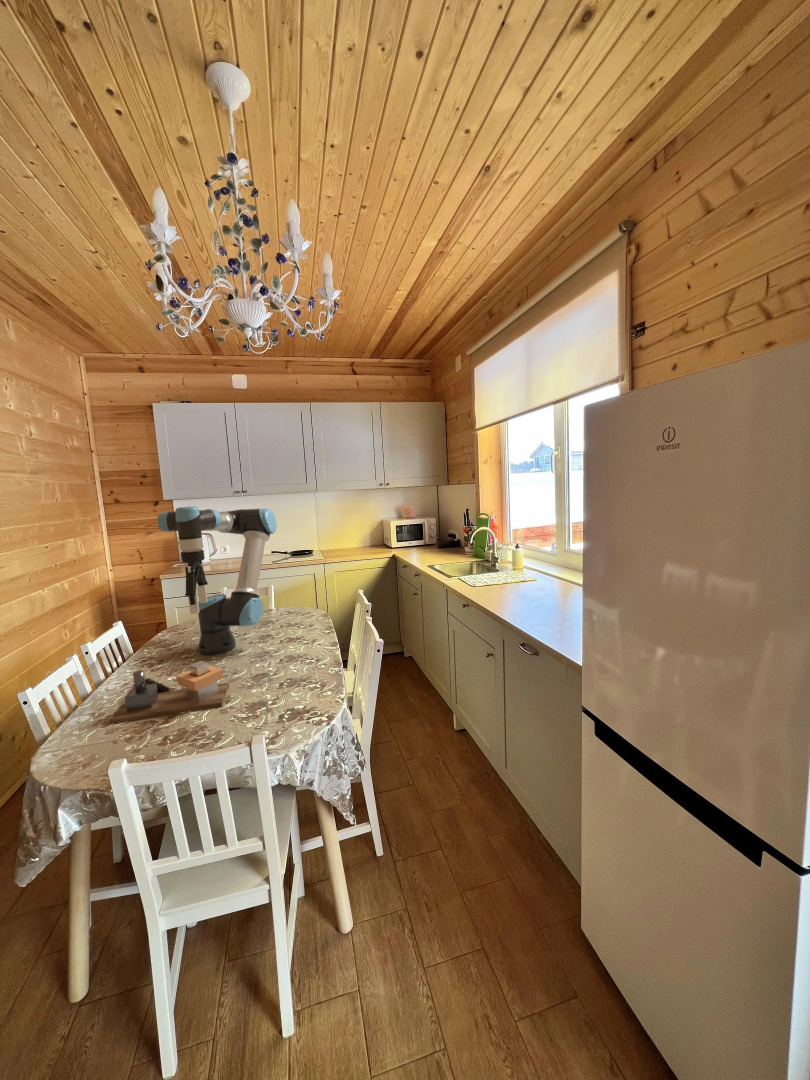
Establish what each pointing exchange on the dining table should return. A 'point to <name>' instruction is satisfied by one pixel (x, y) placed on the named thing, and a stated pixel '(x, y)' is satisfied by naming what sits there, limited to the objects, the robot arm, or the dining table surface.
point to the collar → (200, 678)
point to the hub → (205, 692)
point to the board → (171, 705)
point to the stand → (141, 693)
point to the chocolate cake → (159, 685)
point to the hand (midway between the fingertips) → (199, 607)
